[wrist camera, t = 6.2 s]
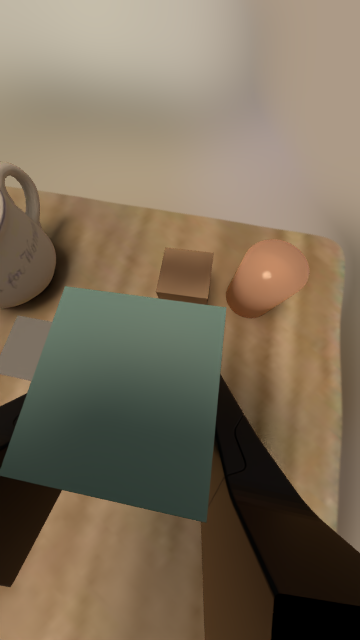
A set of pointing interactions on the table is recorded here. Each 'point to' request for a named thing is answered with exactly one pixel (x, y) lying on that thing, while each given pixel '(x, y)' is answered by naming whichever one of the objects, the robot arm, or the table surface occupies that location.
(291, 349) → the table surface
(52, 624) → the table surface
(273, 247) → the peach rounded cylinder
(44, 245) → the teacup
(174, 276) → the walnut cube
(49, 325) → the gray block
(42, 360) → the teal block
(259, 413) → the table surface
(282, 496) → the robot arm
